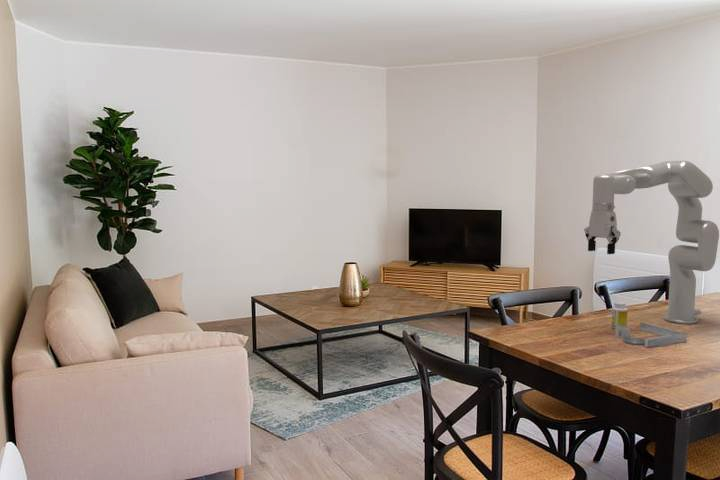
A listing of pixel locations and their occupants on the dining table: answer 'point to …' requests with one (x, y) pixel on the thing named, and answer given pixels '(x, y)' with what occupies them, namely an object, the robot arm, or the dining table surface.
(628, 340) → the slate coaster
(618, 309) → the supplement bottle
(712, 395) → the dining table surface
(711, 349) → the dining table surface
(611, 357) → the dining table surface
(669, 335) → the rail course
